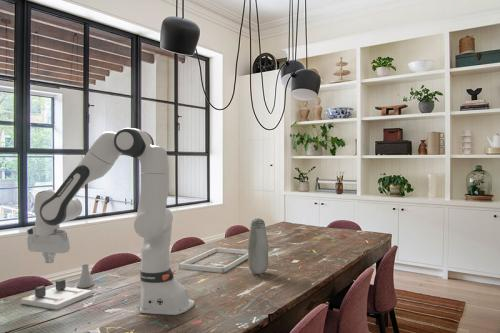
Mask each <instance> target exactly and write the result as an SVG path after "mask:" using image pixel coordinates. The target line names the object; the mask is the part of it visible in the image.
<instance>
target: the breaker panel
mask: <svg viewBox="0 0 500 333" xmlns="http://www.w3.org/2000/svg"><path fill="white" fill-rule="evenodd" d="M91 296H93V290H90V289H84V288H79V287H70V286H66V288H65V289H62V290H56V286H55V287H51V288H48V289H46V296H43V297H40V298H37V297H35V293H34V294H31V295H28V296H26V297H22V298H21V304H22V305H27V306H32V307H38V308H44V309H50V310H54V311H55V310H56V311H57V310H60V309H63V308H64V307H67V306H69V305H72V304H75V303H76V302H77V303H78V302H79V301H81V300H84V299H86V298H88V297H89V298H90V297H91Z"/></svg>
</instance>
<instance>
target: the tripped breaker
mask: <svg viewBox="0 0 500 333" xmlns="http://www.w3.org/2000/svg"><path fill="white" fill-rule="evenodd" d="M46 290H47V289H46V286H45V285H40V286H37V287H35V288H34V294H35V297H37V298H40V297H43V296H46Z"/></svg>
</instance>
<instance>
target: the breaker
mask: <svg viewBox="0 0 500 333" xmlns="http://www.w3.org/2000/svg"><path fill="white" fill-rule="evenodd" d="M66 285H67V284H66V279H64V278H60V279H58V280H55V287H56V290H62V289H65V288H66V287H67V286H66Z"/></svg>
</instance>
